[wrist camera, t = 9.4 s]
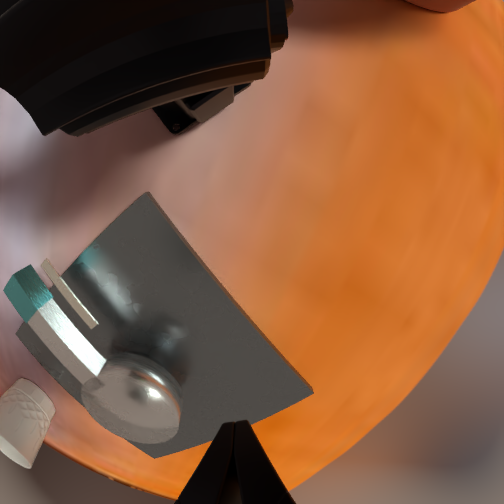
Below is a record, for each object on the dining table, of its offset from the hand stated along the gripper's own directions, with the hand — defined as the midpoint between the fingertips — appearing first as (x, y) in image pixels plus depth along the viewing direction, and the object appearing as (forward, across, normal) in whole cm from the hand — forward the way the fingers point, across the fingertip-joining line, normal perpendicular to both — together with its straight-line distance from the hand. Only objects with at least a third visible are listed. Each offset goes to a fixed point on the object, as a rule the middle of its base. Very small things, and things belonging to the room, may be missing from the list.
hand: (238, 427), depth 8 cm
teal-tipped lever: (+10, +12, +2) cm, 16 cm away
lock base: (+13, +10, +7) cm, 18 cm away
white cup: (+13, +30, +11) cm, 35 cm away
